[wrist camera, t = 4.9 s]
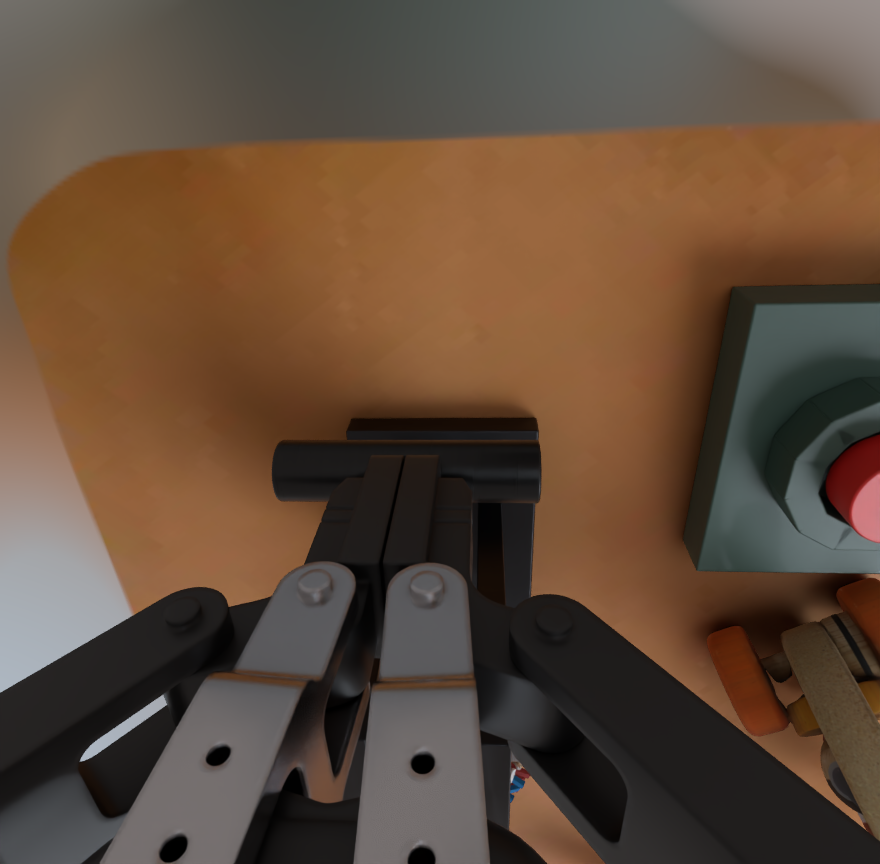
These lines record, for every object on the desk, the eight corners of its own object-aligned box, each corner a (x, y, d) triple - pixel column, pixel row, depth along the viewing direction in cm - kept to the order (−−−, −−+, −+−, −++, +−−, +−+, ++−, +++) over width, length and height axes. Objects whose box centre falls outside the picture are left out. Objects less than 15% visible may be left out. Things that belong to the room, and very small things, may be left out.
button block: (731, 286, 23) (777, 320, 19) (1017, 280, 22) (1118, 315, 18) (681, 539, 28) (709, 602, 25) (906, 542, 28) (967, 606, 24)
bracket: (350, 417, 26) (254, 653, 15) (536, 417, 26) (577, 662, 15) (373, 604, 32) (314, 881, 21) (528, 607, 31) (552, 894, 20)
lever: (290, 419, 15) (259, 474, 13) (536, 418, 15) (544, 475, 13) (347, 722, 21) (332, 793, 19) (520, 728, 21) (525, 801, 19)
